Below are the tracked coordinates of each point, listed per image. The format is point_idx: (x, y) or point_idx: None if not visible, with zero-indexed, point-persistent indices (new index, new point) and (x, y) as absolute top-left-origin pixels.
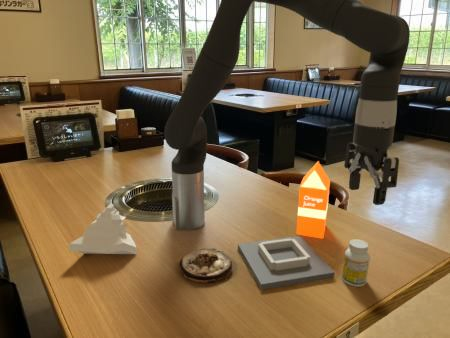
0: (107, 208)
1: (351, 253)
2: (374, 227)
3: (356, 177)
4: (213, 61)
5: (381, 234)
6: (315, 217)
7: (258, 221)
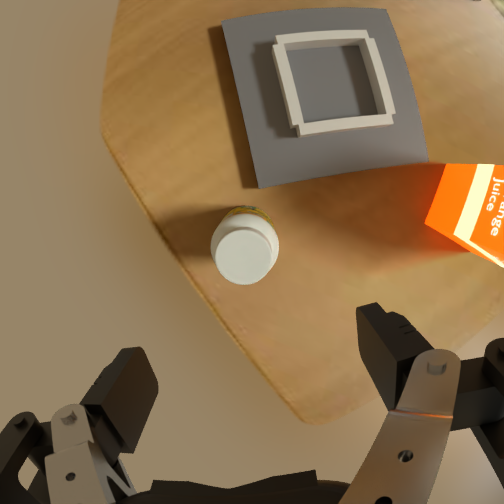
0: None
1: (233, 227)
2: None
3: (386, 379)
4: None
5: None
6: (464, 209)
7: (491, 100)
